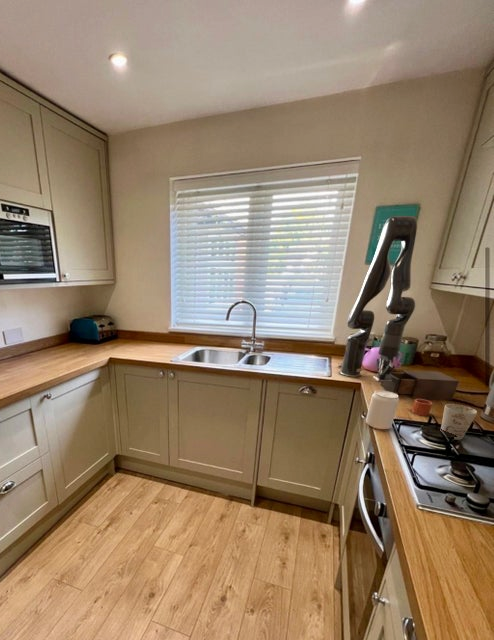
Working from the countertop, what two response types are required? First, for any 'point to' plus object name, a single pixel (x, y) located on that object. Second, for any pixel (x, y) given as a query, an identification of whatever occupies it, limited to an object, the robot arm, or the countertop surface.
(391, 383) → the drawer
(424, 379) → the cabinet
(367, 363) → the teapot
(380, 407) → the white canister
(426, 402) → the ramekin
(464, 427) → the mug
